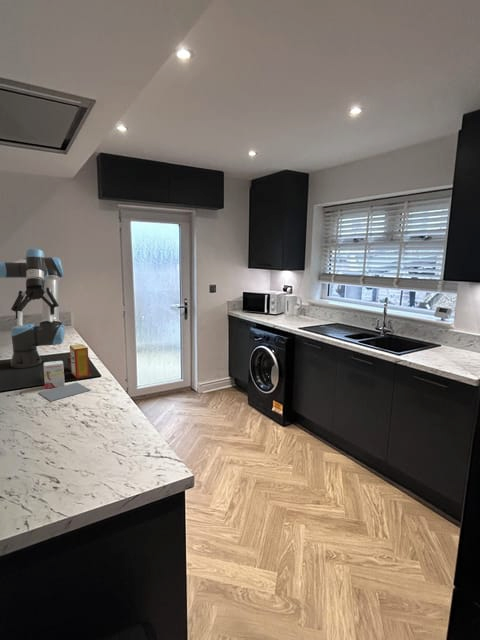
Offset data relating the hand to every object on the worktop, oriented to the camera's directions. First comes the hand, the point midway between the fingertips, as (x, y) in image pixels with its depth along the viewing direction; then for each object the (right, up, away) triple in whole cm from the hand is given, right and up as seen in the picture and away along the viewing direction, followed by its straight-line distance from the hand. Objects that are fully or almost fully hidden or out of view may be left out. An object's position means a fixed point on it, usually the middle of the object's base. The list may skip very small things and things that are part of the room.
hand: (35, 323), depth 162 cm
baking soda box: (+9, -28, +27) cm, 40 cm away
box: (+2, -26, +36) cm, 45 cm away
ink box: (+4, -31, +11) cm, 33 cm away
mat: (+12, -32, +3) cm, 35 cm away
